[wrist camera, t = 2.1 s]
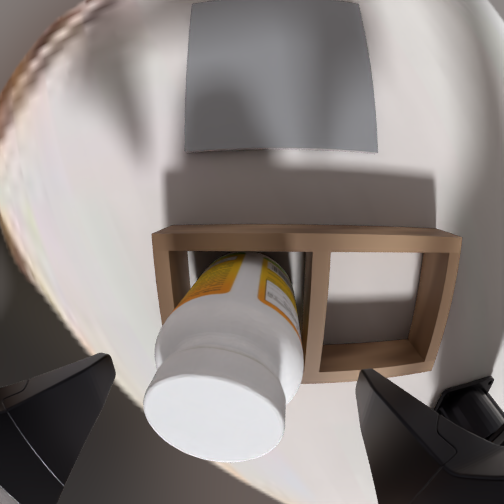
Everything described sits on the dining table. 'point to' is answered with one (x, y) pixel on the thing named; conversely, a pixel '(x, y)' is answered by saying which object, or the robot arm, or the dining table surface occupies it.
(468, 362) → the dining table surface
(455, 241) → the brown two-compartment frame
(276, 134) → the coaster
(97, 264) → the dining table surface
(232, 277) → the supplement bottle
